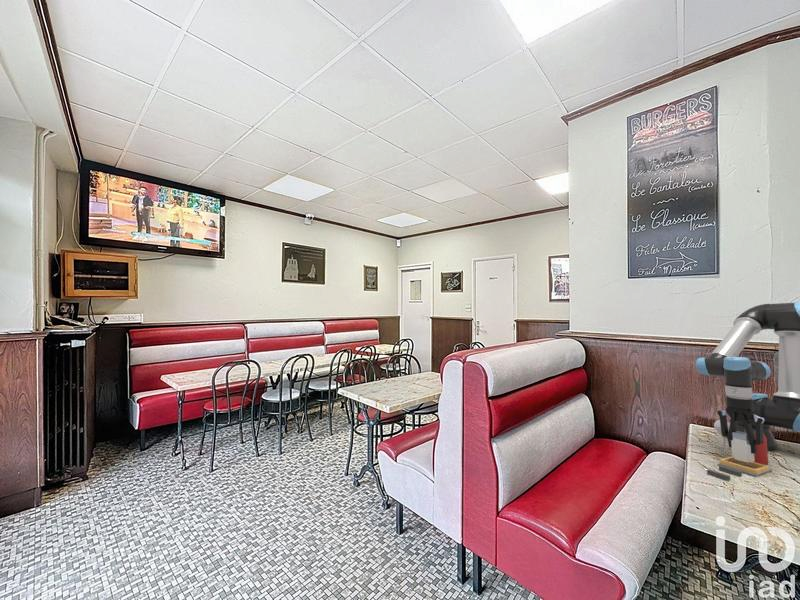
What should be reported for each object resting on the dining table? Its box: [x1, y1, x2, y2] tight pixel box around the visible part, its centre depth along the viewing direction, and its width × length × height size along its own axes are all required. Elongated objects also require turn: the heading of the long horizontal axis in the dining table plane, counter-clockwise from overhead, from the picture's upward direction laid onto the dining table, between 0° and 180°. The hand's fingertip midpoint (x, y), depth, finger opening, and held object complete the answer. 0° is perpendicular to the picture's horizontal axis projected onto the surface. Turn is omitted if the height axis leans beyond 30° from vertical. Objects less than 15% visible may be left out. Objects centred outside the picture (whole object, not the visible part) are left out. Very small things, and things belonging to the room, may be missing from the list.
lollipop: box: [713, 419, 730, 458], centre depth 142 cm, size 6×6×15 cm
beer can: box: [744, 430, 769, 466], centre depth 137 cm, size 7×7×12 cm
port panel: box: [717, 455, 772, 478], centre depth 131 cm, size 12×11×2 cm
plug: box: [732, 431, 750, 463], centre depth 131 cm, size 4×4×10 cm
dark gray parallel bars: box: [706, 466, 743, 482], centre depth 125 cm, size 10×6×2 cm, turn 113°
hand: (743, 459), depth 131 cm, fingers closed on plug, 4 cm apart
